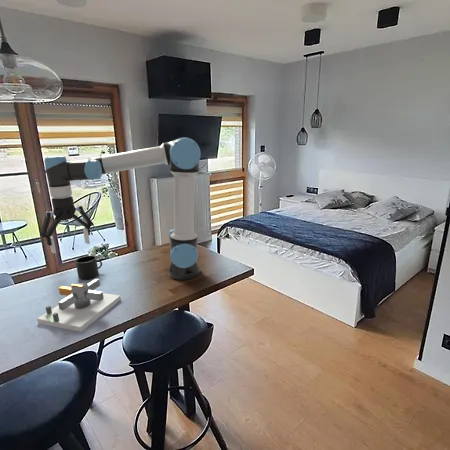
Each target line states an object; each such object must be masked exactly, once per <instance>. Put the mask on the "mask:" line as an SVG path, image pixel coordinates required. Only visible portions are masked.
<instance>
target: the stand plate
mask: <svg viewBox="0 0 450 450" xmlns="http://www.w3.org/2000/svg"><path fill="white" fill-rule="evenodd" d="M103 297H104V299H103V300H101V301H97V300H91V299H90V300H91V304H90V305H89V306H87V307H85V308H80V309H78V308H75V306H74V303H73V304H72V305H70V306H69V307H67V308H66V309H64V310H60V309H59V304H58V305H56V306H55V307H54V308H52V306H51V305H47V306H46V307H45V311H46V312H45V313H43V314H42V315H41V316H39V317H38V318H36V321H37V323H38V324H39V325H45V326H49V327H50V326H51V327H54V328H55V327H56V328H60V329H65V330H70V331H75V332H80V333H82V332H83V331H84V330H85V329H87V328H88V327H90V325H92V324H93V323H94V322H95V321H97V320H98V319H99V318H100V317H102V315H104V314H105V313H107V311H109V310H110V309H111V308H113V307H114V306H115V305H117V304H118V303H119V302H121V300H122V299H121V298H122V297H121V295H118V294H112V293H105V292H103Z"/></svg>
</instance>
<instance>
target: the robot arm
mask: <svg viewBox="0 0 450 450" xmlns="http://www.w3.org/2000/svg"><path fill="white" fill-rule="evenodd" d="M200 148H201V147H200V146H199V144H198V143H197V142H196V141H195V140H194V139H192V138H190V137H184V136H183V137H179V138H177V139H173V140H171V141H166V142H162V144H161V145H158V146H153V147H147V148H141V149H135V150H130V151H124V152H118V153H112V154H106V155H101V156H96V157H94V156H93V157H88V158H86V159H82V160H67V157H66V156H64V155H57V156H56V155H53V156H47V157H45V158H44V166H45V169H44V170H45V174H46V178H47V182H48V189H49V193H50V197H51V204H52V209H53V210H52V211H44V219H43V224H42V226H41V229H40V232H39V237H41V238H42V239H43V238H44V239H45V240H46V244H47V245H48V246H49V247H50V251H51V253H52V254H57V250H56V244H55V241H54V237H53V236H52V235H53V234H54V232H55V230H56V229H57V228H58V225H59V224H60V223H61V221H67V220H71V219H73V220H75V221H76V222H78V223H79V224H80V225H82V226H83V227H82V231H83V232H82V233H83V237H84V244H87V245H89V244H90V243H91V242H90V236H91V231H90V229H91V227H93V226H94V225H95V224H94V223H93V221H92V220H91V219H90V217H89V216H88V214H87V213H86V212H85V210H84V207H83V206H82V205H77V206H75V202H74V198H73V196H72V195H73V191H72V185H71V182H72V181H73V182H74V181H93V180H100V179H101V178H103V177H102V175H107V174H110V173H117V172H123V171H128V170H134V169H140V168H146V167H151V166H157V165H163V164H165V165H166V166H169V171H170V173H171V174H172V175H173V228H172V229H170V230H169V231H168V238H169V240H168V241H169V258H170V264H169V269H168V276H169V277H170V278H171V279H173V280H177V281H181V280H183V281H185V280H191V279H194V278H195V276H196V277H197V276H199V275H200V273H201V270H200V265H199V263H198V259H199V250H198V234H197V233H196V232H195V192H196V187H195V186H196V176H197V175H198V174H199V173H200V160H201V149H200ZM76 211H77V212H78V213H79V214H80V215H81V216H82V218H83V220H82V219H81V217H79V216H78V215H76V214H75V213H76ZM53 216H54V218H53V220H52V222H51V219H52V217H53ZM50 223H51V225H50ZM49 225H50V226H49ZM199 272H200V273H199ZM198 274H199V275H198ZM193 277H194V278H193Z"/></svg>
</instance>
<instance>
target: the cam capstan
mask: <svg viewBox="0 0 450 450" xmlns="http://www.w3.org/2000/svg"><path fill="white" fill-rule="evenodd" d="M99 287H101V283H100V279H99V278H93V280H91V281H90V282H88V283H87V282H80V283H79V282H78V283H76V284H75V283H72V284H70V286H64V285H61V286H59V287H58V293H59V295H60V296H65V297H64V298H62V299H61V300H60V301H58V302H57V304H58V305H59V309H60V310H64V309H66V308H67V307H69V306H70V305H72V304H73V303H74V306H75V308H78V309H80V308H85V307H87V306H89V305H90V304H91V300H97V301H101V300H103V299H104V297H103V293H104V292H103V291H100V290H96V289H97V288H99ZM90 299H91V300H90Z"/></svg>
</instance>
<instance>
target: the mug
mask: <svg viewBox="0 0 450 450" xmlns="http://www.w3.org/2000/svg"><path fill="white" fill-rule="evenodd" d="M98 263H99V264H100V265H99V266H98ZM102 266H103V262H102V261H101V260H100V259H97V257H96V256H95V255H85V256H81V257H78V258H77V259H76V260H75V267H76V271H77V278H78V279H79V280H82V281H88V280H91V279H96V278H97V277H98V276H99V275H100V273H99V269H101V268H102Z"/></svg>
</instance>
